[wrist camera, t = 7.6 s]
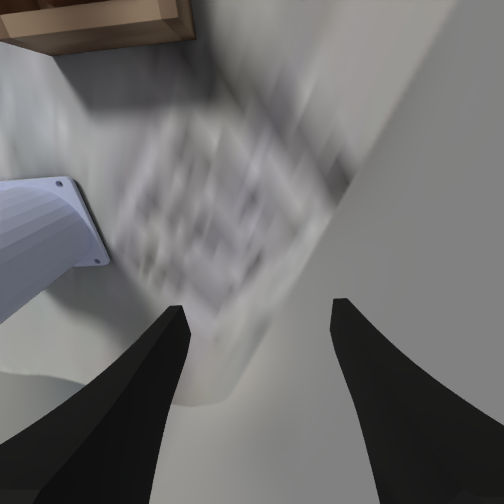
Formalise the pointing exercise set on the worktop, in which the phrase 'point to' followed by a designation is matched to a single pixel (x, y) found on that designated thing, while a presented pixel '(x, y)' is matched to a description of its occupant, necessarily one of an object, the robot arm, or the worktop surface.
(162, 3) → the big crate
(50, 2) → the small crate
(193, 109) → the worktop surface
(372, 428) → the robot arm
